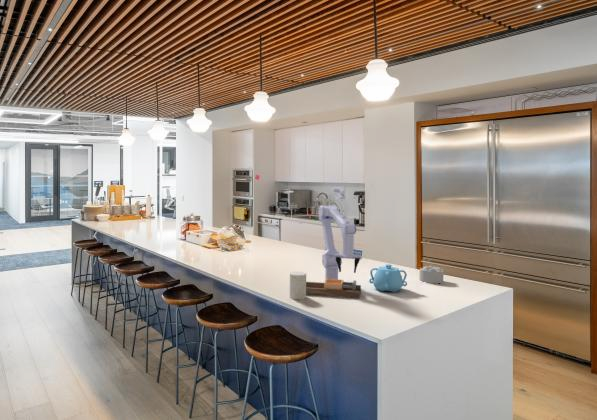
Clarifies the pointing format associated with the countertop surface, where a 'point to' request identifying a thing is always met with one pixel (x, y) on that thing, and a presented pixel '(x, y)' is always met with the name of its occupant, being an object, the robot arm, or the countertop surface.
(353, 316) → the countertop surface
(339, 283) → the drawer
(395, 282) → the decorative pot
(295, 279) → the cup
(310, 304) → the countertop surface
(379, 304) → the countertop surface
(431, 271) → the lumpy-topped squat cylinder
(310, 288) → the bay
